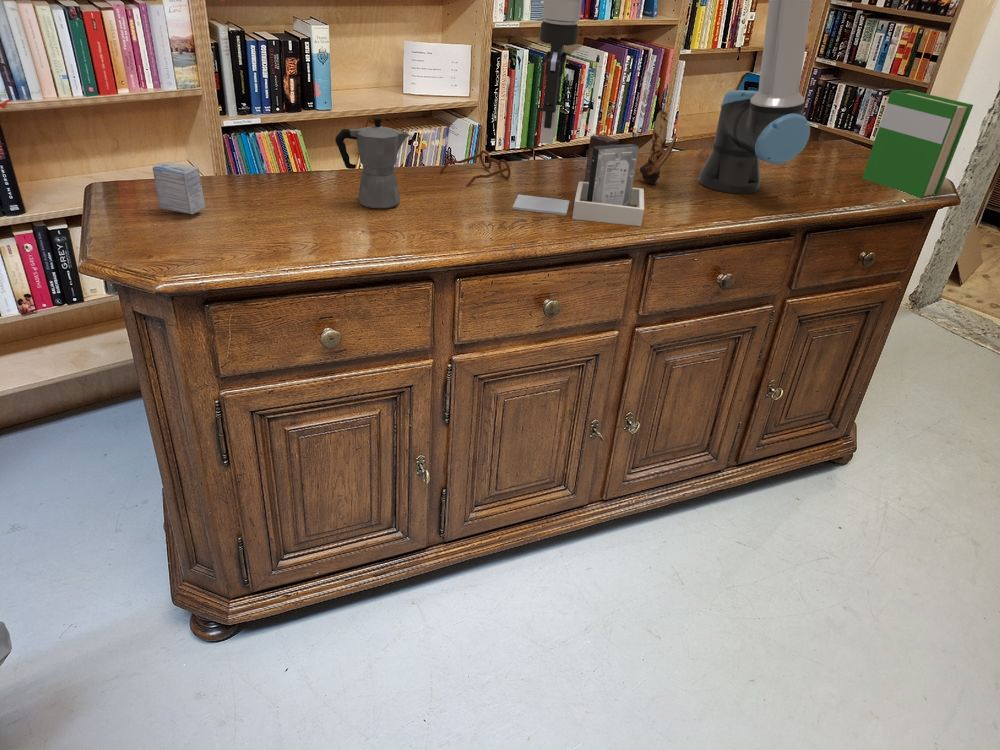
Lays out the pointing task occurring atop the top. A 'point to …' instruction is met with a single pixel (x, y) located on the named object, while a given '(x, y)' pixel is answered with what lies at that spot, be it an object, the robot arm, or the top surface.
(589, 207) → the storage box
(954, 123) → the hardback book
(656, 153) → the bone fish hook
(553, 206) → the mat
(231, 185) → the top surface
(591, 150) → the box
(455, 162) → the glasses
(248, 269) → the top surface
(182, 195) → the medicine box
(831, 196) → the top surface
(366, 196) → the coffeepot
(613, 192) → the disk drive
